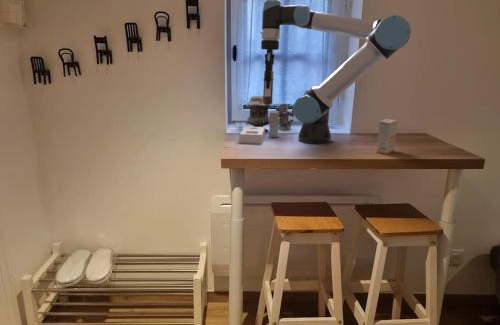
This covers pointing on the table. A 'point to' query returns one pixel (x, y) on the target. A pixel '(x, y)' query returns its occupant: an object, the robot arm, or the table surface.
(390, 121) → the supplement box
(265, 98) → the walnut dowel
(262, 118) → the apothecary jar
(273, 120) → the square steel bar
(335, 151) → the table surface
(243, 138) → the socket block
